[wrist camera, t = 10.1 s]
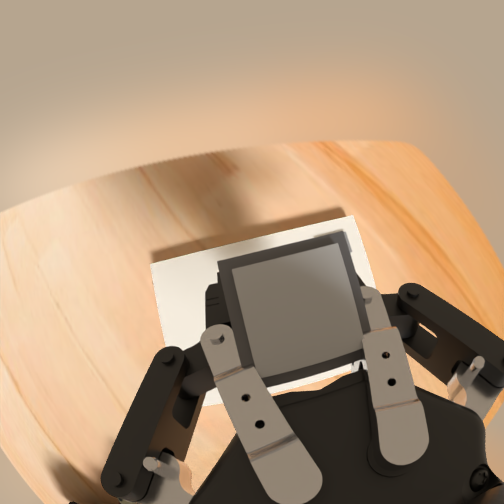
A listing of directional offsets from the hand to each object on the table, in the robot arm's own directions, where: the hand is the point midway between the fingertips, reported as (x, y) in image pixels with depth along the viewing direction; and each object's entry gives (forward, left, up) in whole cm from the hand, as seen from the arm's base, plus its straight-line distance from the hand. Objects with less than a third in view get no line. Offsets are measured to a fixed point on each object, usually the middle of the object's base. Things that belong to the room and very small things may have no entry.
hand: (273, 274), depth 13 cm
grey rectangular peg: (+2, -1, -4) cm, 5 cm away
